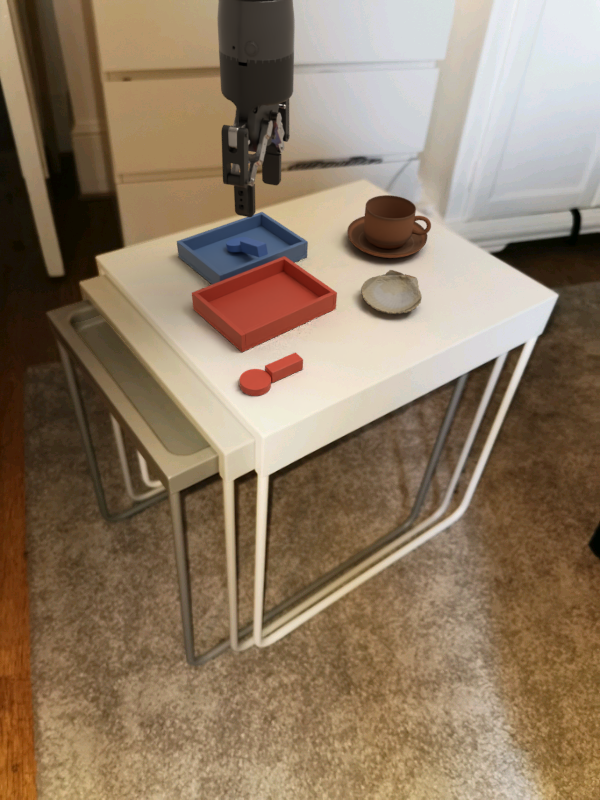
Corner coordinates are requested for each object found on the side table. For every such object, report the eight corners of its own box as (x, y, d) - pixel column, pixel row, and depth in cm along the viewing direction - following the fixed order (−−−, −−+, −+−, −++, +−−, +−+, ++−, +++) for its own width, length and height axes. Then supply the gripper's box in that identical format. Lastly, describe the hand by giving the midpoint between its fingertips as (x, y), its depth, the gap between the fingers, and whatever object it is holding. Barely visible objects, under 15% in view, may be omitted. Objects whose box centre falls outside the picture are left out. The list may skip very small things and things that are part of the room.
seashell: (354, 316, 87) (406, 327, 82) (349, 298, 85) (402, 308, 80) (385, 281, 91) (435, 289, 86) (381, 263, 89) (432, 270, 84)
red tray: (241, 352, 78) (241, 335, 76) (193, 309, 84) (191, 292, 82) (336, 308, 85) (337, 292, 83) (284, 271, 91) (284, 255, 89)
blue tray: (220, 292, 87) (219, 275, 85) (178, 257, 93) (176, 241, 91) (307, 257, 94) (308, 241, 92) (262, 226, 100) (262, 211, 98)
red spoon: (250, 400, 72) (250, 389, 71) (233, 382, 74) (233, 372, 73) (308, 374, 75) (308, 363, 74) (290, 357, 77) (290, 347, 76)
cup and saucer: (414, 223, 102) (420, 187, 98) (434, 263, 94) (442, 225, 89) (340, 226, 101) (343, 189, 97) (354, 267, 92) (357, 228, 88)
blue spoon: (222, 249, 94) (220, 238, 93) (242, 241, 96) (241, 231, 95) (253, 260, 88) (251, 248, 87) (273, 252, 90) (272, 241, 89)
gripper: (248, 24, 69) (251, 169, 80) (191, 60, 59) (204, 220, 71) (314, 32, 68) (308, 179, 79) (266, 70, 58) (267, 232, 69)
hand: (258, 198), depth 75 cm, fingers open, 8 cm apart
